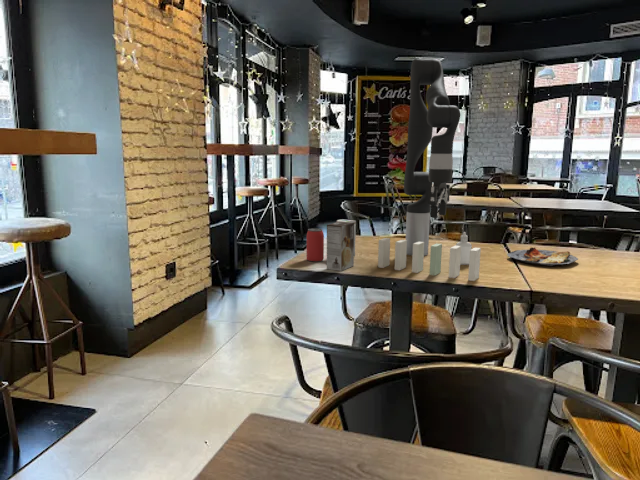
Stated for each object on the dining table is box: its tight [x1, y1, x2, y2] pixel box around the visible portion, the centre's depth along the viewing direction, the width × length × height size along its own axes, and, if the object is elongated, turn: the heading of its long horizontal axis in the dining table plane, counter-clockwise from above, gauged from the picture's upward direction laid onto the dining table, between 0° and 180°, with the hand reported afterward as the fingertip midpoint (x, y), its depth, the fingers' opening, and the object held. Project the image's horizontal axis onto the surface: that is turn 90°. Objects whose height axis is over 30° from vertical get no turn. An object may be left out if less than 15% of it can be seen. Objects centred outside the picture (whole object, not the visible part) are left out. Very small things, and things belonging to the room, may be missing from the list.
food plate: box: [507, 247, 579, 267], centre depth 190 cm, size 25×23×4 cm
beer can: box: [306, 227, 325, 263], centre depth 187 cm, size 7×7×12 cm
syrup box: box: [336, 218, 357, 257], centre depth 194 cm, size 6×6×14 cm
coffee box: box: [326, 221, 355, 272], centre depth 175 cm, size 9×6×16 cm
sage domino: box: [429, 242, 443, 276], centre depth 168 cm, size 6×2×10 cm, turn 147°
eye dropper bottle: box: [455, 231, 473, 266], centre depth 182 cm, size 4×6×12 cm
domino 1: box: [377, 237, 391, 269], centre depth 178 cm, size 6×2×10 cm, turn 148°
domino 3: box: [411, 242, 425, 274], centre depth 171 cm, size 6×2×10 cm, turn 148°
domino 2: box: [394, 239, 407, 271], centre depth 175 cm, size 6×2×10 cm, turn 147°
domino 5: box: [467, 247, 481, 282], centre depth 161 cm, size 6×2×10 cm, turn 148°
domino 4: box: [448, 244, 461, 279], centre depth 164 cm, size 6×2×10 cm, turn 148°
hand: (438, 216), depth 165 cm, fingers open, 8 cm apart
